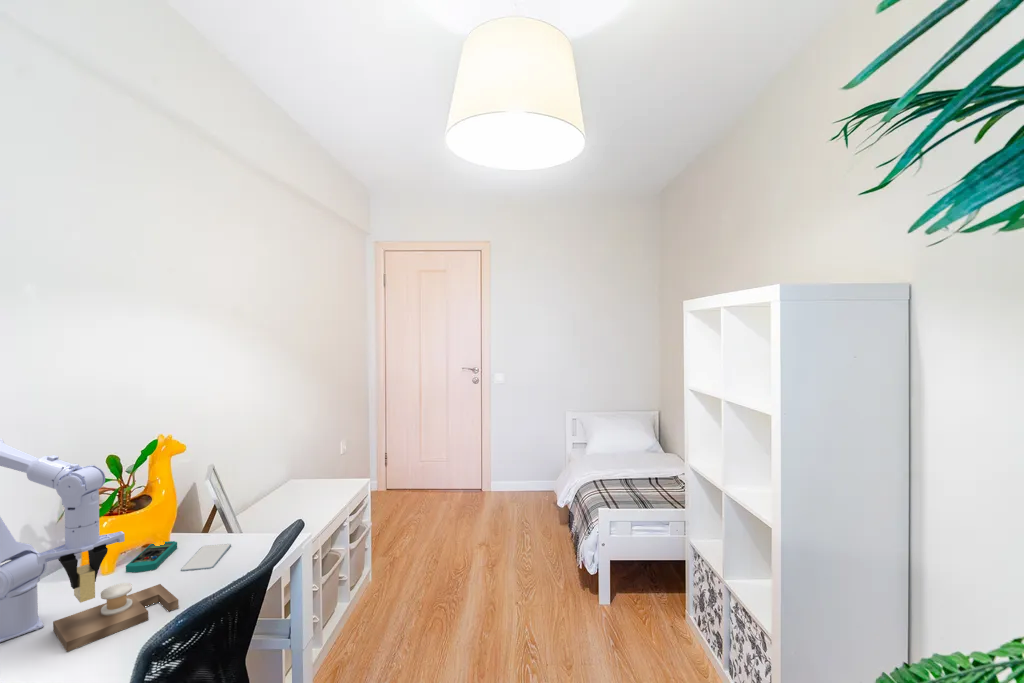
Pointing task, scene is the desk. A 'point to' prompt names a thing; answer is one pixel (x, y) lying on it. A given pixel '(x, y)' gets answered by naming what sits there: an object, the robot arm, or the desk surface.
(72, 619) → the notched board
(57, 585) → the desk surface
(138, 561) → the digital multimeter
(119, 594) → the bobbin
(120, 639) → the desk surface
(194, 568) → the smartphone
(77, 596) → the brass tab
